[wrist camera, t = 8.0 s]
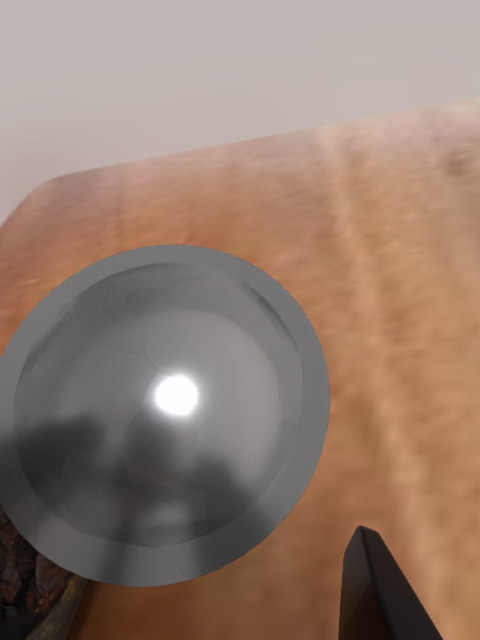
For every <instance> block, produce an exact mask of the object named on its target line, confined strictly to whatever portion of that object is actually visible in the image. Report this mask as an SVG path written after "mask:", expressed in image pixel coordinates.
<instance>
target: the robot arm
mask: <svg viewBox="0 0 480 640" xmlns="http://www.w3.org/2000/svg"><path fill="white" fill-rule="evenodd" d="M338 640H443V638H442V637H441V635H440V633H439V632H438V630H437V628H436V627H435V625H434V623H433V622H432V620H431V619H430V617H429V615H428V614H427V612H426V610H425V609H424V607H423V605H422V604H421V602H420V600H419V599H418V597H417V595H416V594H415V592H414V590H413V589H412V587H411V585H410V584H409V582H408V581H407V579H406V577H405V576H404V574H403V572H402V571H401V569H400V567H399V566H398V564H397V562H396V561H395V559H394V557H393V556H392V554H391V552H390V551H389V549H388V547H387V546H386V544H385V543H384V541H383V539H382V538H381V536H380V534H379V533H378V532H377V531H375V530H372V529H370V528H367V527H365V526H358V527H357V528H356V530H355V532H354V534H353V536H352V538H351V540H350V542H349V544H348V546H347V548H346V551H345V554H344V559H343V573H342V588H341V603H340V617H339V635H338Z"/></svg>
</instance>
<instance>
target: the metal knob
mask: <svg viewBox="0 0 480 640" xmlns="http://www.w3.org/2000/svg"><path fill="white" fill-rule="evenodd" d="M329 410H330V387H329V378H328V372H327V366H326V361H325V358H324V354H323V351H322V348H321V344H320V342H319V339H318V337H317V335H316V333H315V330H314V328H313V326H312V324H311V323H310V321H309V319H308V318H307V316H306V314H305V313H304V311H303V309H302V308H301V307H300V306H299V304H298V303H297V302H296V301H295V299H294V298H293V297H292V296H291V294H290V293H289V292H288V291H287V290H285V289H284V288H283V287H282V286H281V285H280V284H279V283H278V282H277V281H276V280H275V279H273V278H272V277H271V276H269V275H268V274H267V273H265V272H264V271H263V270H261V269H259V268H257V267H256V266H254V265H252V264H251V263H249V262H247V261H245V260H243V259H240V258H238V257H236V256H233V255H231V254H228V253H225V252H221V251H218V250H215V249H210V248H205V247H199V246H191V245H178V244H176V245H156V246H149V247H141V248H137V249H133V250H129V251H125V252H121V253H118V254H115V255H113V256H110V257H107V258H104V259H102V260H100V261H98V262H96V263H94V264H91V265H89V266H87V267H85V268H84V269H82V270H80V271H79V272H77V273H75V274H74V275H72V276H70V277H69V278H68V279H66V280H65V281H64V282H62V283H61V284H60V285H58V286H57V287H56V288H54V289H53V290H52V291H51V292H50V293H49V294H48V295H46V296H45V297H44V298H43V299H42V300H41V301H40V302H39V303H38V304H37V305H36V306H35V307H34V309H33V310H32V311H31V312H30V313H29V314H28V315H27V317H26V318H25V319H24V320H23V322H22V323H21V324H20V326H19V327H18V329H17V330H16V332H15V333H14V334H13V336H12V337H11V339H10V341H9V343H8V345H7V347H6V348H5V350H4V352H3V354H2V356H1V358H0V503H1V505H2V507H3V509H4V511H5V513H6V514H7V516H8V517H9V519H10V520H11V521H12V523H13V524H14V526H15V527H16V528H17V530H18V531H19V533H20V534H21V535H22V536H23V537H24V538H25V539H26V540H27V541H28V542H29V543H30V544H31V545H32V546H33V547H34V548H35V549H36V550H37V551H38V552H40V553H41V554H43V555H44V556H46V557H47V558H48V559H50V560H51V561H53V562H54V563H56V564H57V565H59V566H60V567H62V568H65V569H67V570H69V571H71V572H73V573H75V574H77V575H80V576H82V577H84V578H88V579H92V580H95V581H99V582H102V583H106V584H111V585H120V586H130V587H148V586H164V585H169V584H174V583H178V582H183V581H187V580H192V579H195V578H197V577H200V576H202V575H205V574H208V573H210V572H213V571H215V570H218V569H220V568H222V567H224V566H225V565H227V564H229V563H231V562H232V561H234V560H236V559H238V558H240V557H241V556H243V555H244V554H246V553H247V552H248V551H250V550H251V549H252V548H254V547H255V546H256V545H257V544H259V543H260V542H261V541H263V540H264V539H265V538H266V537H267V536H268V535H269V534H270V533H271V532H272V531H273V530H274V529H275V528H276V527H277V526H278V525H279V524H280V523H281V522H282V521H283V520H284V519H285V518H286V516H287V515H288V514H289V512H290V511H291V510H292V508H293V507H294V505H295V504H296V503H297V501H298V500H299V499H300V497H301V496H302V494H303V492H304V490H305V488H306V487H307V485H308V483H309V481H310V479H311V478H312V476H313V473H314V471H315V468H316V466H317V463H318V461H319V458H320V455H321V453H322V449H323V445H324V441H325V437H326V433H327V429H328V420H329Z"/></svg>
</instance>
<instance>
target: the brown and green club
mask: <svg viewBox="0 0 480 640" xmlns="http://www.w3.org/2000/svg"><path fill="white" fill-rule="evenodd" d="M89 580H90V579H88V578H84V577H82V576H80V575H77V574H75V573H73V572H71V571H69V570H67V569H65V568H62V567H60V566H59V565H57V564H56V563H54V562H53V561H51V560H50V559H48V558H47V557H46V556H44V555H43V554H41V553H40V552H38V551H37V550H36V549H35V548H34V547H33V546H32V545H31V544H30V543H29V542H28V541H27V540H26V539H25V538H24V537H23V536H22V535H21V534H20V533H19V531H18V530H17V528H16V527H15V526H14V524H13V523H12V521H11V520H10V519H9V517H8V516H7V514H6V513H5V511H4V509H3V507H2V505H1V503H0V640H65V639H66V637H67V634H68V632H69V629H70V627H71V624H72V622H73V619H74V617H75V614H76V612H77V609H78V607H79V605H80V602H81V600H82V597H83V595H84V592H85V590H86V587H87V585H88V583H89Z"/></svg>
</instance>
